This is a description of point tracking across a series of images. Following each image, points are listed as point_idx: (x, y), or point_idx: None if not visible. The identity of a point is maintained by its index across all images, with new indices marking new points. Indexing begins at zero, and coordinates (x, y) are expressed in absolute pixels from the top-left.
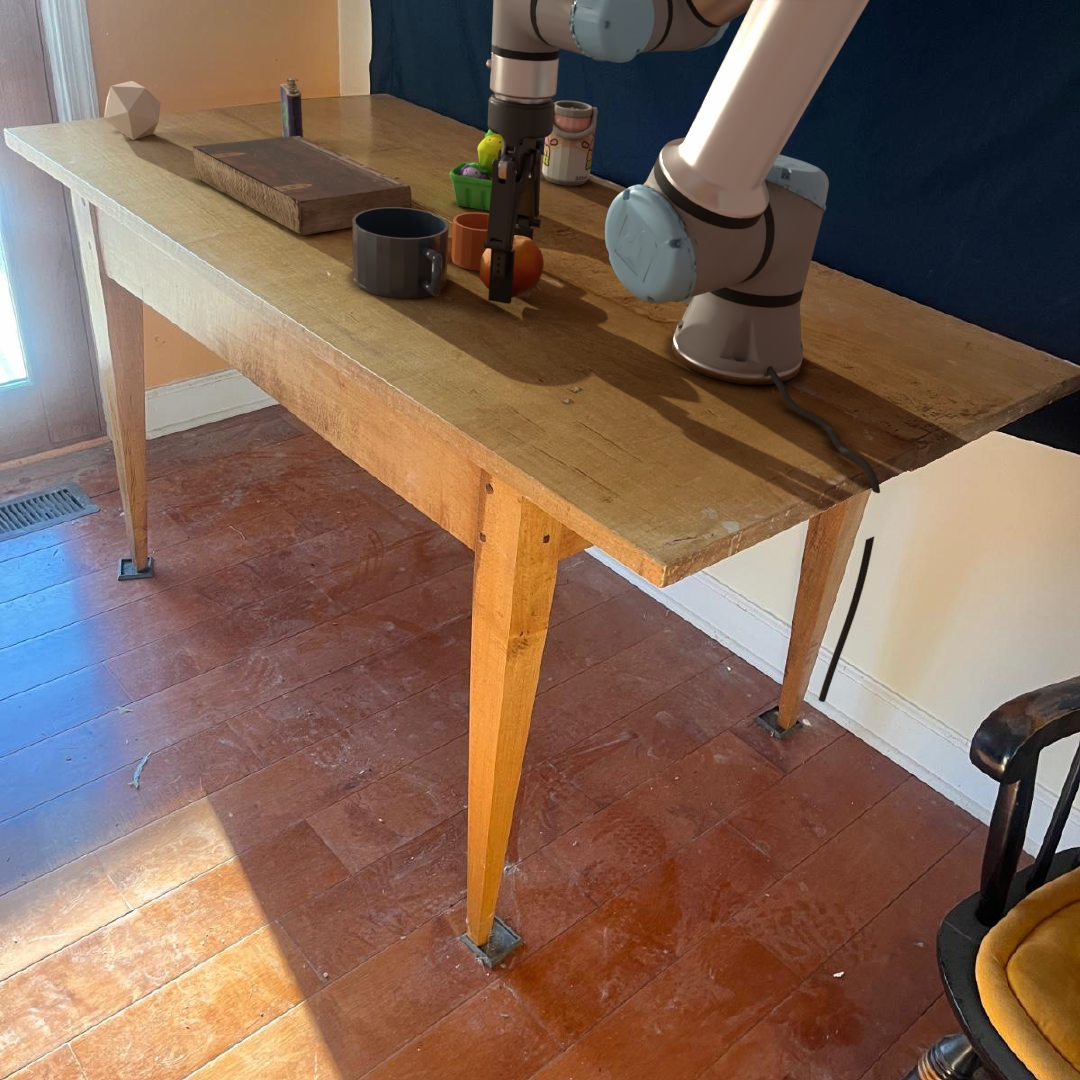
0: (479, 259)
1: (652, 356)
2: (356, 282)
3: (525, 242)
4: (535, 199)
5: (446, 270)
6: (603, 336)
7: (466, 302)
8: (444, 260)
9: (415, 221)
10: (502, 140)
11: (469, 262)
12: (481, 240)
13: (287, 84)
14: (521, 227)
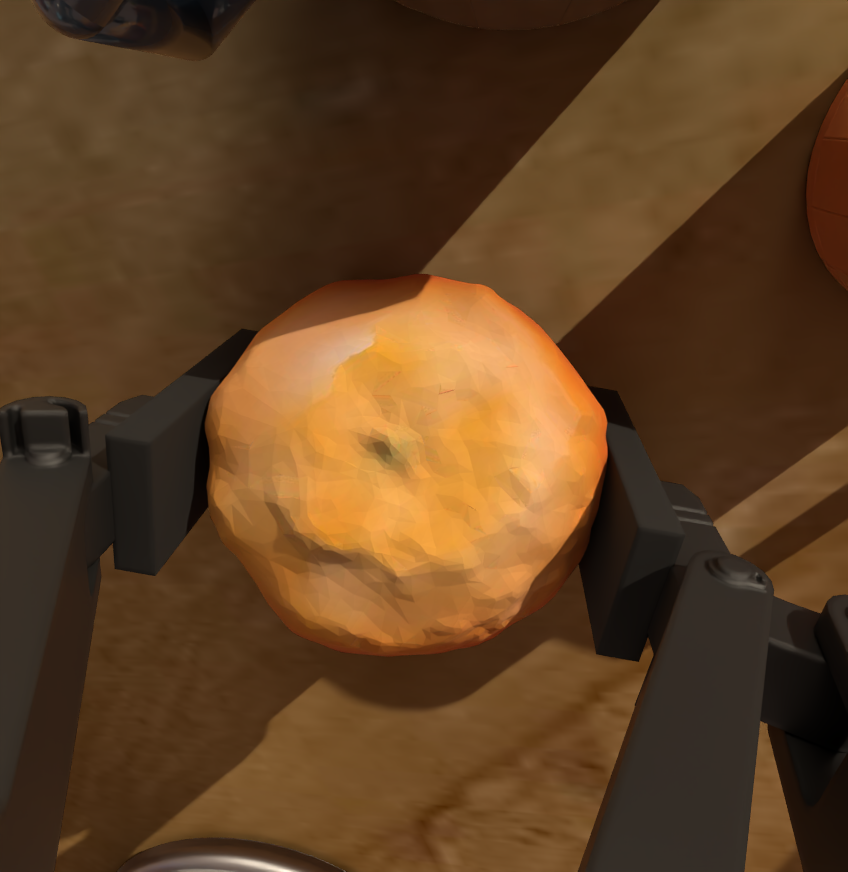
0: (834, 197)
1: (171, 790)
2: None
3: (307, 629)
4: (801, 839)
5: (545, 17)
6: (242, 692)
7: (340, 196)
8: (456, 2)
9: None
10: None
11: (839, 127)
12: None
13: None
14: (650, 590)
